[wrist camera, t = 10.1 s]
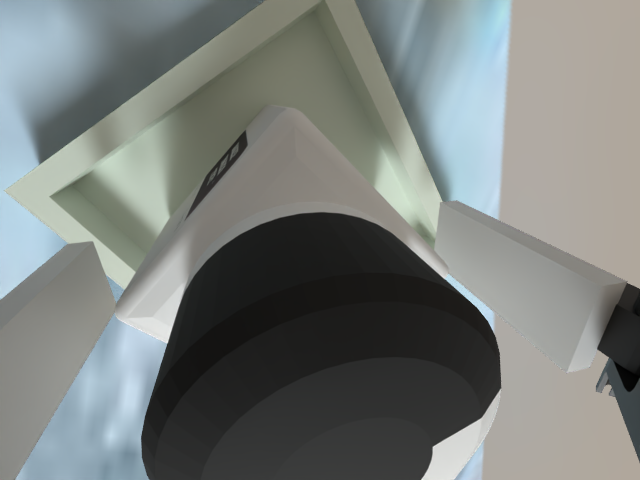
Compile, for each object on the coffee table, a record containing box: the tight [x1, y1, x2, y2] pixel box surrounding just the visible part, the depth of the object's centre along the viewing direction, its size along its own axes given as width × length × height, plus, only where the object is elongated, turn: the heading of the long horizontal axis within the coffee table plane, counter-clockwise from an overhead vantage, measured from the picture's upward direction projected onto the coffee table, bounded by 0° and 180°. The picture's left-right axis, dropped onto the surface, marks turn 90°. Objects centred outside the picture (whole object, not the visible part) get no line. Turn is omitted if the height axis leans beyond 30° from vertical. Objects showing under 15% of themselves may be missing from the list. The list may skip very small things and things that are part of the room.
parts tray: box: [4, 0, 443, 290], centre depth 16 cm, size 15×15×2 cm
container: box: [115, 105, 501, 480], centre depth 11 cm, size 8×8×13 cm
